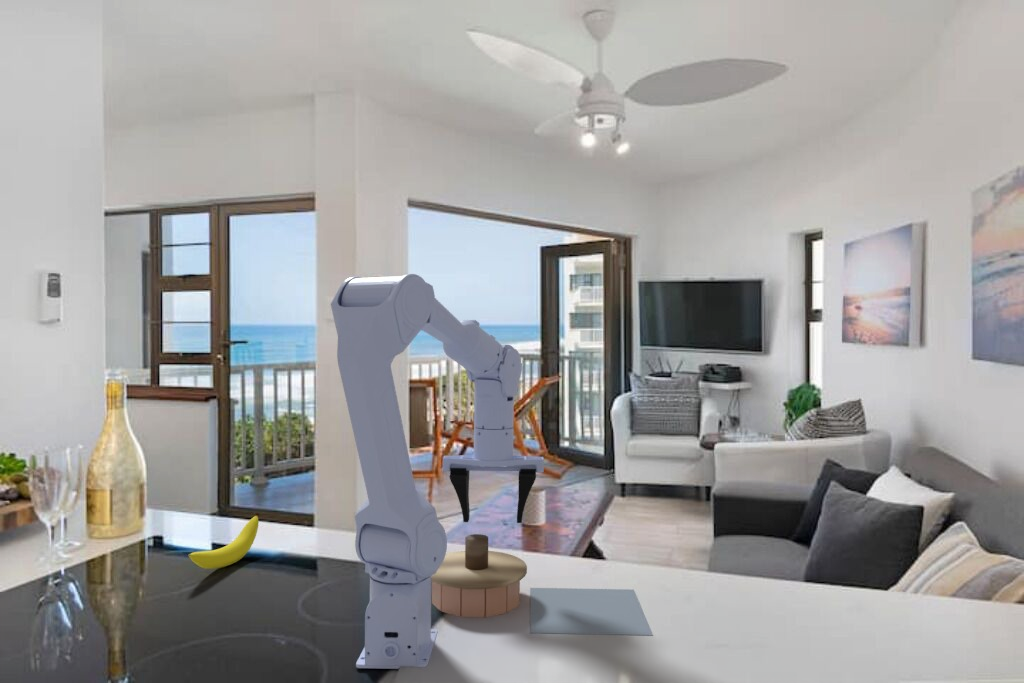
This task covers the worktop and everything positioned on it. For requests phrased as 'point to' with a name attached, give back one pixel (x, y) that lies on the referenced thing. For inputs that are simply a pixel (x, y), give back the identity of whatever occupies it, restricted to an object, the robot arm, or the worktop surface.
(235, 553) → the banana
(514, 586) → the terracotta bowl
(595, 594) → the rubber mat
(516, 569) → the oak lid
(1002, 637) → the worktop surface
